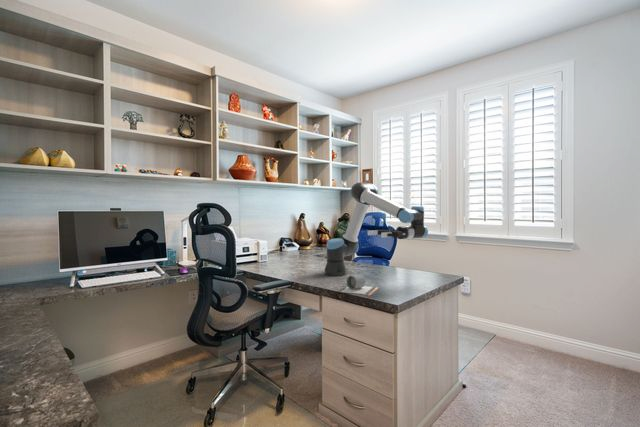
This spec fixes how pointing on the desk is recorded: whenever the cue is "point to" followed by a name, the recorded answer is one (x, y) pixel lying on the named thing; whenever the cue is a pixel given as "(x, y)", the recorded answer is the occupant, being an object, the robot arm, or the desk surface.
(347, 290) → the pad
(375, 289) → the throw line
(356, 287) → the ceramic mug
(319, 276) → the desk surface
